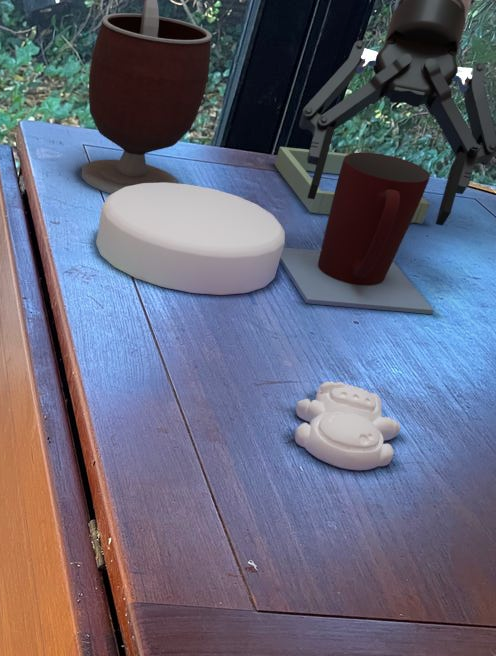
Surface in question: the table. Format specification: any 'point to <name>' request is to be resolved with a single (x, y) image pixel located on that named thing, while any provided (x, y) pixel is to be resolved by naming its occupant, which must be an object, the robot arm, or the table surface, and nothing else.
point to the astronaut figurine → (346, 427)
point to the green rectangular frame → (295, 174)
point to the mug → (370, 216)
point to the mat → (350, 286)
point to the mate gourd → (144, 91)
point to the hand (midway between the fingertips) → (377, 205)
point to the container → (190, 238)
